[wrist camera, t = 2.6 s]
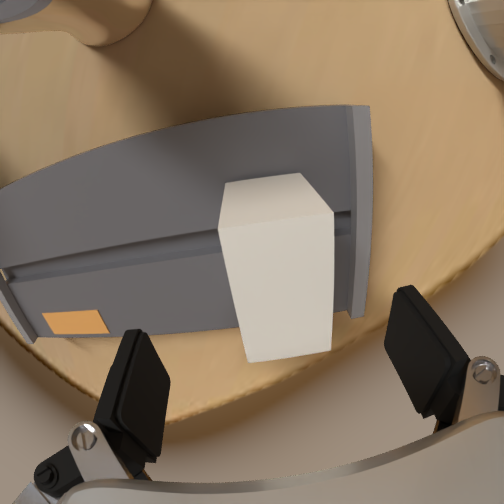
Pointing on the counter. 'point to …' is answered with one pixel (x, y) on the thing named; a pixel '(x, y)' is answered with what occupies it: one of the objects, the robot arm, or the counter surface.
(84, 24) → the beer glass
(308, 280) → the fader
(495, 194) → the counter surface
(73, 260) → the fader board
